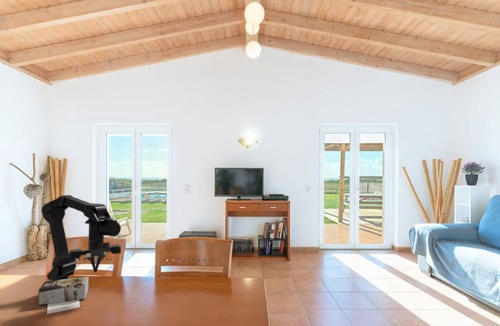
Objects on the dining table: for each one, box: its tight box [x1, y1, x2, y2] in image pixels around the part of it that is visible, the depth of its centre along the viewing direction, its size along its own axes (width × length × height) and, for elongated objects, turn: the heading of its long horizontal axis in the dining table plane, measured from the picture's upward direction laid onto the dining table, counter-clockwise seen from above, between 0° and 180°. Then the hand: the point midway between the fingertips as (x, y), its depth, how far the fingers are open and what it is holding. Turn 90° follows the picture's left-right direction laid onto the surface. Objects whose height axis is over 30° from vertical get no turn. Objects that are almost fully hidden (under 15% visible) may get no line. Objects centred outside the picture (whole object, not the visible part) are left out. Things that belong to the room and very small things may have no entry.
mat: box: [46, 300, 81, 315], centre depth 115 cm, size 14×10×1 cm
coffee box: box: [38, 276, 89, 306], centre depth 120 cm, size 9×6×16 cm
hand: (95, 272), depth 121 cm, fingers closed
